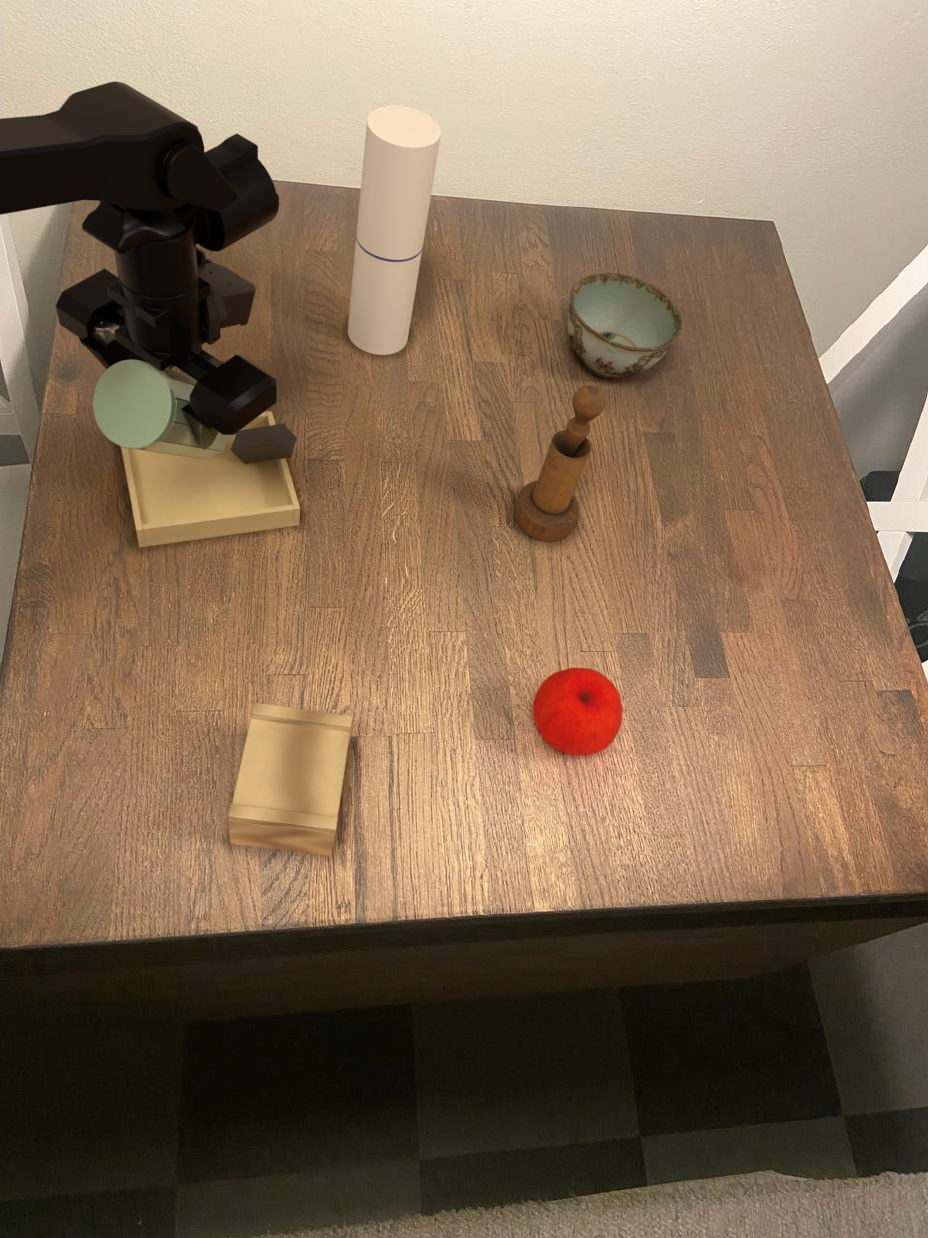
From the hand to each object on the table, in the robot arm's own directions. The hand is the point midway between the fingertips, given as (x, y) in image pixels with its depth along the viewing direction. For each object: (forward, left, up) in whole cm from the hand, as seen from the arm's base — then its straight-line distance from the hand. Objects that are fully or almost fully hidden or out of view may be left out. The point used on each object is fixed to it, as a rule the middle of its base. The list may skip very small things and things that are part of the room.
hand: (175, 424), depth 81 cm
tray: (+3, +2, -11) cm, 11 cm away
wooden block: (+4, -32, -11) cm, 34 cm away
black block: (+9, +4, -8) cm, 12 cm away
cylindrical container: (+26, +22, -11) cm, 36 cm away
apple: (+29, -32, -11) cm, 44 cm away
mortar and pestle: (+36, -8, -11) cm, 38 cm away
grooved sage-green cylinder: (0, 0, +2) cm, 2 cm away
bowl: (+53, +14, -11) cm, 56 cm away
